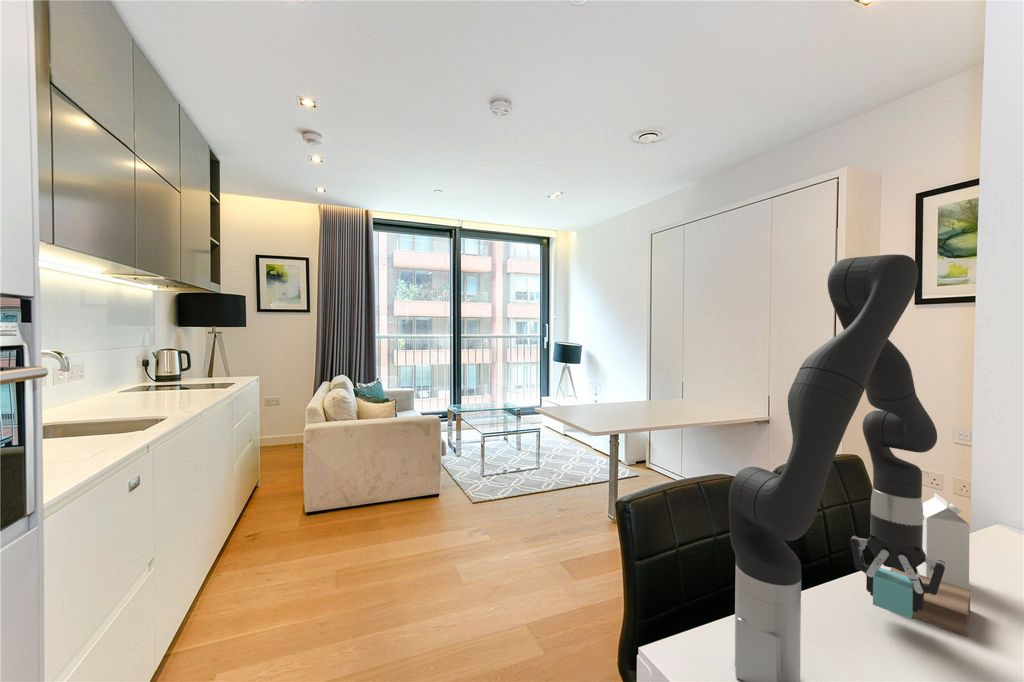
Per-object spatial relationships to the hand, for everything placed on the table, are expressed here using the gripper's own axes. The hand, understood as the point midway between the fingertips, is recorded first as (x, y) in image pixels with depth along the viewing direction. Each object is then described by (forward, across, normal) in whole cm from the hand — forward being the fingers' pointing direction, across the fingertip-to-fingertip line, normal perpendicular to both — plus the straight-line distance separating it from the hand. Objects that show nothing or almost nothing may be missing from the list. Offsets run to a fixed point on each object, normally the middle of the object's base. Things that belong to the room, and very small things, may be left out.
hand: (894, 601), depth 82 cm
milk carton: (+4, +5, +29) cm, 30 cm away
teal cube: (+1, 0, 0) cm, 1 cm away
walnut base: (+4, +4, +12) cm, 13 cm away
